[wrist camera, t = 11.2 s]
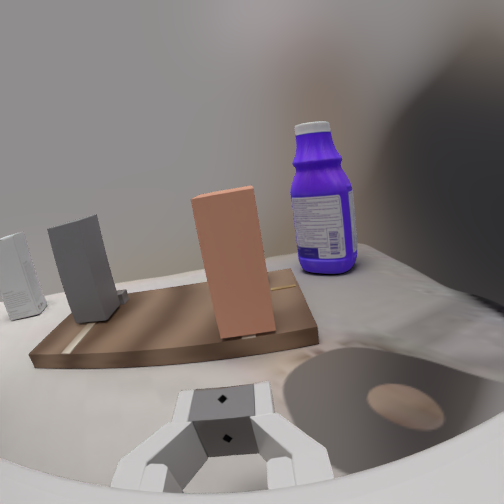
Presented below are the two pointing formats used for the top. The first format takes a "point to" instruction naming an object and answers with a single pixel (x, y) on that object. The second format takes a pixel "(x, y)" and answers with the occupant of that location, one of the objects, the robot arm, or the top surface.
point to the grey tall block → (84, 269)
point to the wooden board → (174, 330)
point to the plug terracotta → (234, 261)
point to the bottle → (322, 203)
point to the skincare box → (19, 278)
